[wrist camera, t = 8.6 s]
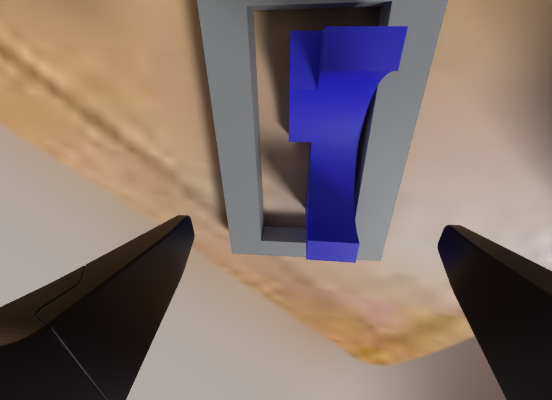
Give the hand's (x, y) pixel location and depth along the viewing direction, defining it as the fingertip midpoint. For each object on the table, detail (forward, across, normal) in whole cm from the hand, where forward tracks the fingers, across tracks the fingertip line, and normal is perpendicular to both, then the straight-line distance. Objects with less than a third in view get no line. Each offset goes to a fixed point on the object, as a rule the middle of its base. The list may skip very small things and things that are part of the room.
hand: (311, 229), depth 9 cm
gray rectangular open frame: (+10, 0, 0) cm, 10 cm away
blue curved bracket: (+11, -1, 0) cm, 11 cm away
